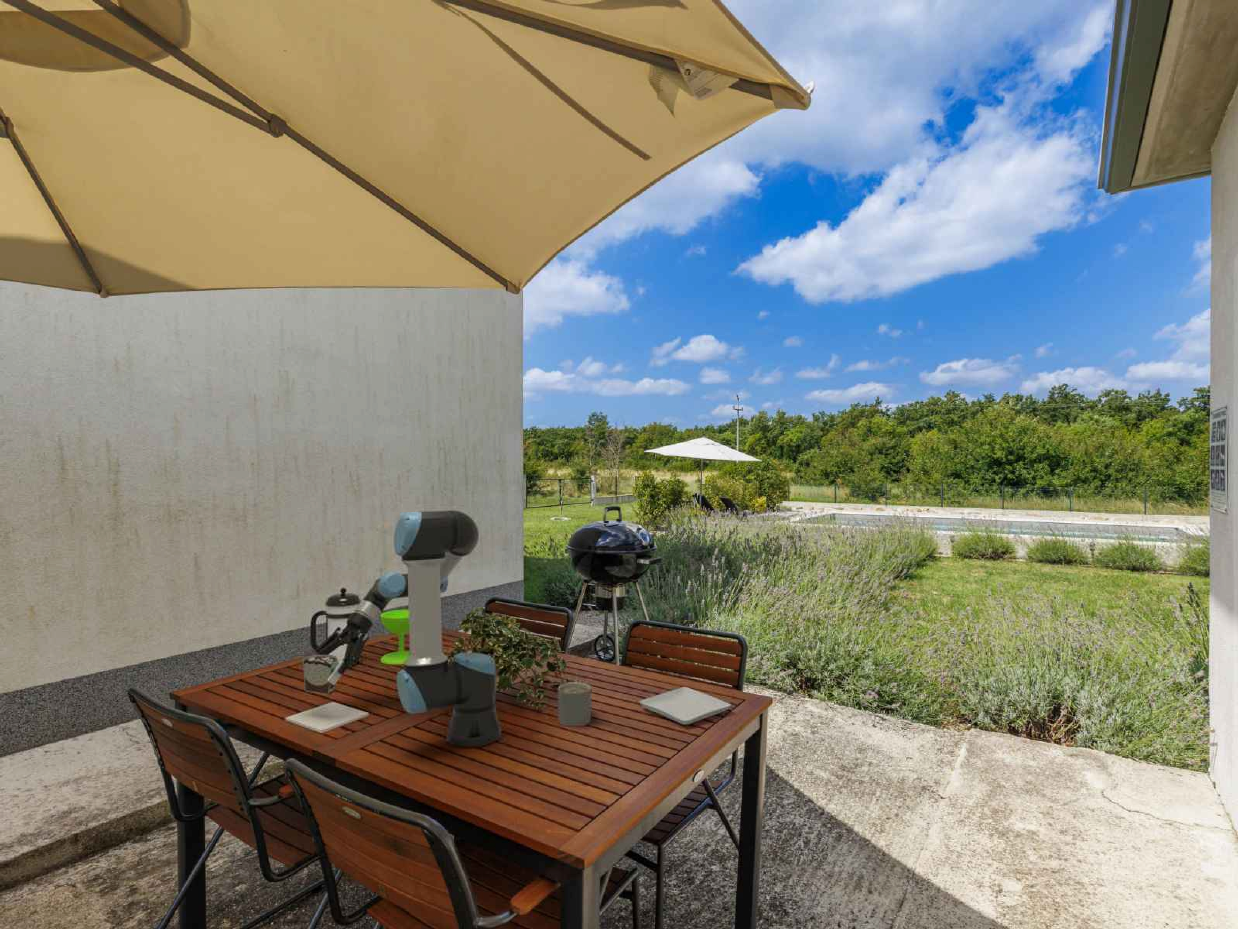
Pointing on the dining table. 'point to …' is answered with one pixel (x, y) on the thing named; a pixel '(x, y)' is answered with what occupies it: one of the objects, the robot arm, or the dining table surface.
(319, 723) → the ceramic tile
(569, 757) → the dining table surface
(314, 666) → the food container
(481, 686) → the robot arm
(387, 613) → the wineglass
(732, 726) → the dining table surface
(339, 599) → the coffee press
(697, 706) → the salad plate
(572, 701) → the grey canister
